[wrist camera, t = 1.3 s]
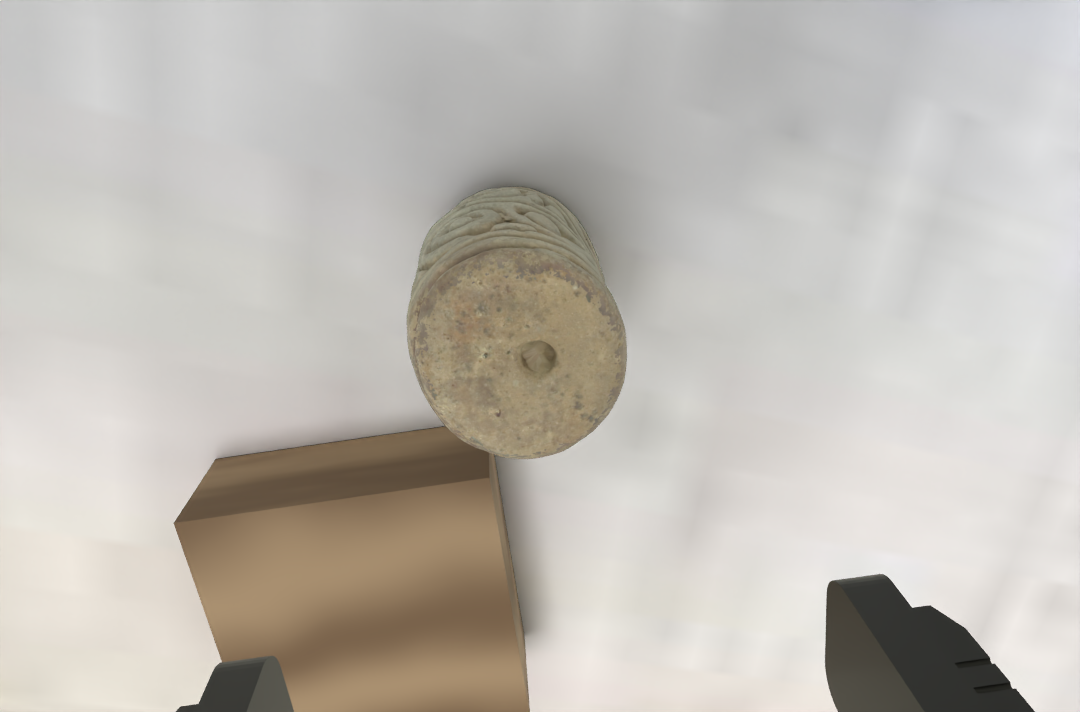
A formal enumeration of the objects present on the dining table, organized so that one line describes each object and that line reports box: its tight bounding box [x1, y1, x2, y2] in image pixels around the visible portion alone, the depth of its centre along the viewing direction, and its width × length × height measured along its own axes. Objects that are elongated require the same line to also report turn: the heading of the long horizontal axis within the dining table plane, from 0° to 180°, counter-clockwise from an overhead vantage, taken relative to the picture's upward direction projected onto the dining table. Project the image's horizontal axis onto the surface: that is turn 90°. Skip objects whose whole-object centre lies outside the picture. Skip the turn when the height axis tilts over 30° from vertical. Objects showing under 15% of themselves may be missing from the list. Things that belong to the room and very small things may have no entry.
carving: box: [407, 187, 627, 459], centre depth 26 cm, size 6×8×12 cm
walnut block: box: [174, 426, 530, 712], centre depth 34 cm, size 12×12×5 cm
